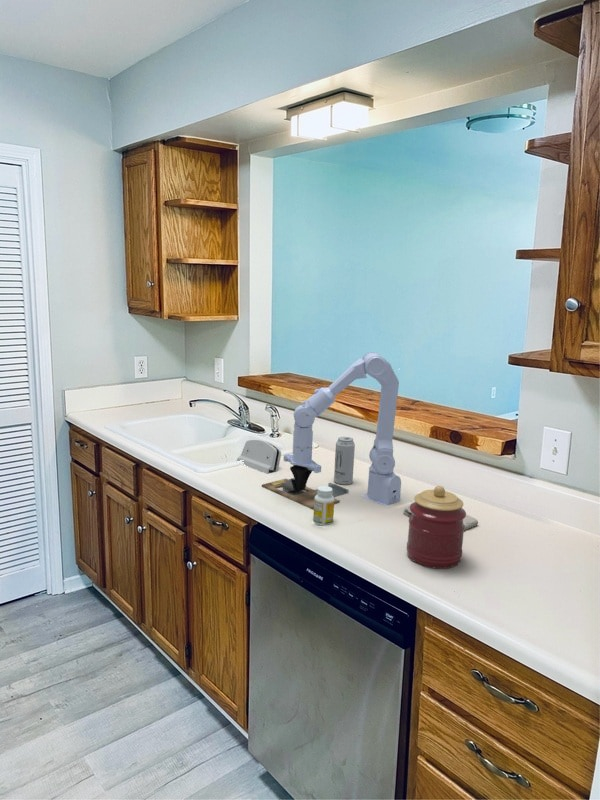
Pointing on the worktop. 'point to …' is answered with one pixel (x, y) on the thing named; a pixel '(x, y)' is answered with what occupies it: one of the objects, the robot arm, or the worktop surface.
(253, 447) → the hinge
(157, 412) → the worktop surface
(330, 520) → the supplement bottle
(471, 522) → the washcloth
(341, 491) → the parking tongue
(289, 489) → the metal block with knob
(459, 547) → the canister
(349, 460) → the energy drink can
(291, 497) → the board
